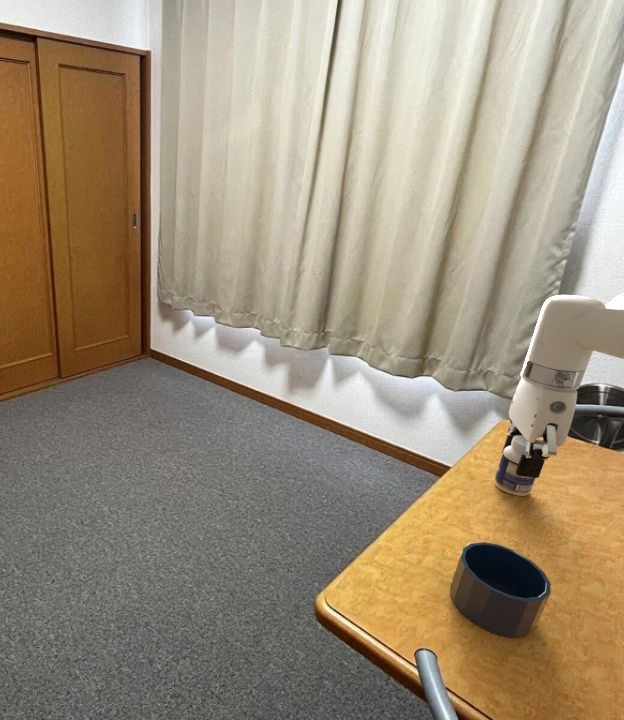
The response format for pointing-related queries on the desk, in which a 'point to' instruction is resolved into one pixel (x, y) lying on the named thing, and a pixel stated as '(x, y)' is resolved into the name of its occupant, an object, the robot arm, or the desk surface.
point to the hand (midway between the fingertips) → (519, 464)
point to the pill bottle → (514, 468)
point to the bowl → (499, 589)
